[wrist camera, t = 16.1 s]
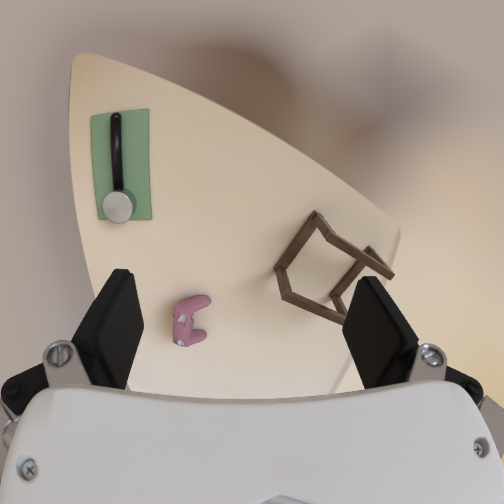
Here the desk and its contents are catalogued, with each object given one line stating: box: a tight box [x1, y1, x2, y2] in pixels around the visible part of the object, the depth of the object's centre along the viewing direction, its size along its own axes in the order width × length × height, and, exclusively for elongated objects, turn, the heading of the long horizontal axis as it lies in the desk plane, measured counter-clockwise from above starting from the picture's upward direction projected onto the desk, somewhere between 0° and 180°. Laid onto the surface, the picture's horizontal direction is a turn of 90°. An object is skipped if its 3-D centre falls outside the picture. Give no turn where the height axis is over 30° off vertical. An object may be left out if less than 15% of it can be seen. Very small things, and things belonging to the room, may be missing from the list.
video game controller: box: [173, 295, 211, 347], centre depth 45 cm, size 10×5×7 cm, turn 169°
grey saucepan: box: [103, 112, 137, 223], centre depth 33 cm, size 16×5×2 cm, turn 176°
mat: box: [91, 109, 152, 220], centre depth 34 cm, size 16×9×1 cm, turn 176°
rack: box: [274, 211, 395, 325], centre depth 40 cm, size 11×13×8 cm
